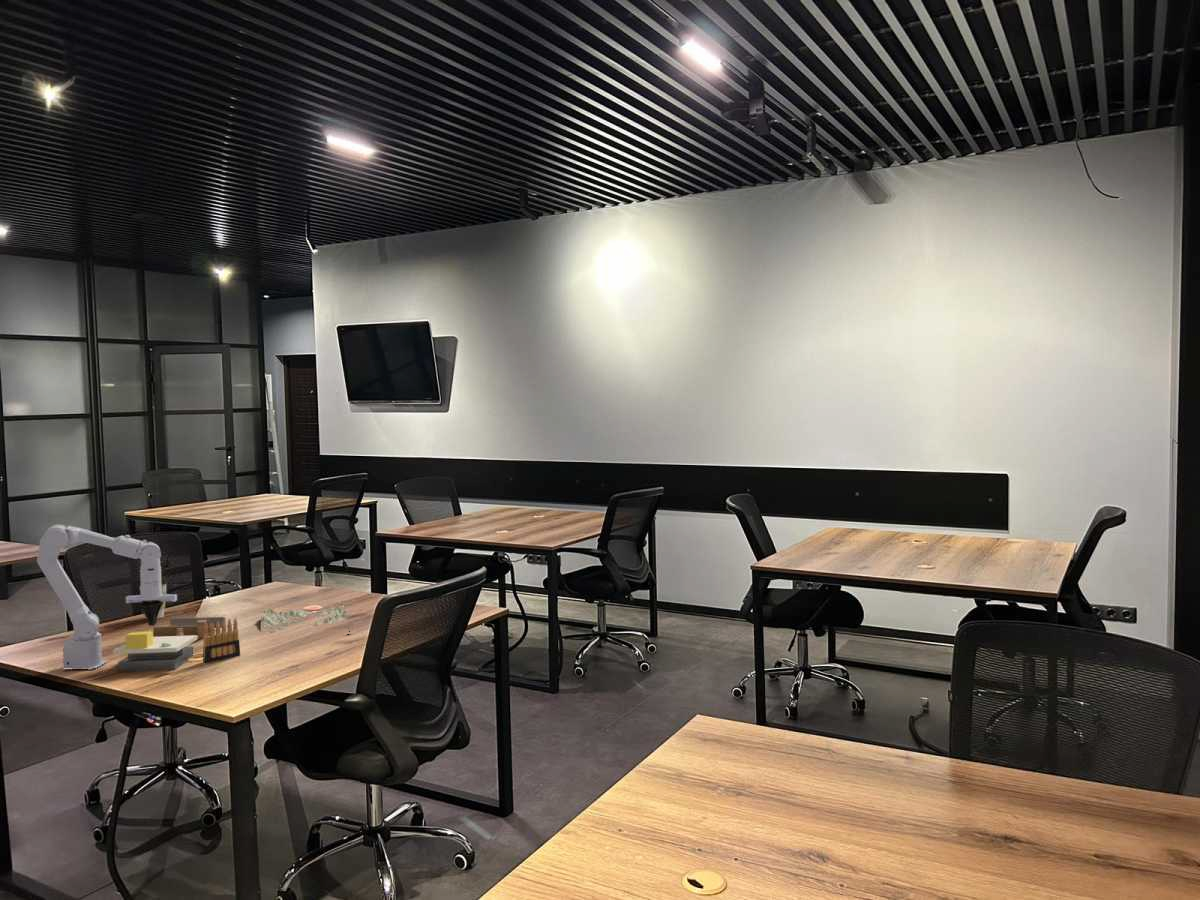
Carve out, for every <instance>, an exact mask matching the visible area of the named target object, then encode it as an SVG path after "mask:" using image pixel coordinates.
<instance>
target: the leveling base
mask: <svg viewBox="0 0 1200 900" xmlns="http://www.w3.org/2000/svg"><path fill="white" fill-rule="evenodd" d="M192 656H193V657H194V646H185V647H184V648H182V649H180V650H179V651H177V652H158V653H131V654H127V656H125V657H124V658H122V659H121V660H119V661H118V663H117V665H118V672H119V671H129V672H150V671H151V672H152V671H154V672H155V671H175V670H177V669H178V668H179V667H181V666H182V665H183V663H184V664H185V663H186V662H188V661H189V660H190V659H191V658H190V657H192ZM193 657H192V658H193ZM189 658H190V659H189ZM188 659H189V660H188ZM187 660H188V661H187Z"/></svg>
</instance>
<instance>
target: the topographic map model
mask: <svg viewBox="0 0 1200 900" xmlns="http://www.w3.org/2000/svg"><path fill="white" fill-rule="evenodd" d="M321 611H322V613H319V612H318V613H319V614H318V616H321V615H326V614H329V615H327V616H329V617H327V618H326V619H325V620H324V621H323V623H328V624H331V623H332V622H335V621H336V622H339V621H342V620H347V621H348V615H347V612H346V611H347V610H346V608H345V601H344V602H342V603H341V604H340V605H338V607H333V606H331V607H330V608H326V609H325V608H324V609H321ZM323 611H324V612H323ZM260 613H261V614H260V615H261V618H260V630H261V629H262V628H263V627H265V626H271V625H277V624H278V623H284V624H283V626H288V625H291V624H289V623H291V622H288V621H297V620H290V619H287V618H285V617H294V618H295V617H296V618H299V617H305V616H307V615H306V614H312V613H314V612H313V611H306V610H304V609H303V610H298V609H295V608H294V609H292V610H289V611H286V612H285V611H284V612H283V611H280V613H279V612H277V611H276V610H273V609H265V610H262V611H261V612H260ZM339 613H342V614H341V615H340V614H339ZM330 614H331V615H336V614H339V615H336V616H335V618H331V617H330ZM315 617H316V616H315ZM323 617H326V616H323ZM319 618H321V617H319ZM320 624H322V622H315V624H314V625H313V626H319V625H320ZM278 630H284V628H279V629H278ZM278 630H273V631H272V630H270V631H269V632H268V633H275V632H278Z"/></svg>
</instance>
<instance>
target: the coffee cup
mask: <svg viewBox="0 0 1200 900" xmlns="http://www.w3.org/2000/svg"><path fill="white" fill-rule="evenodd" d="M168 583H169V582H168V580H167V578H166V577H165V576H161V586H162V594H167V584H168ZM137 585H138V587H139V591H140V592H139V595H141V579H140V580H139V582H138V583H137ZM165 608H166V601H165V602H163V604H162V606H161V608H160V611H159V613H158V616H157V619H158V618H162V617H163V618H164V616H165V615H164V614H165ZM143 616H144V619H145V618H146V616H145V614H144V613H143ZM163 618H162V619H163ZM158 620H159V619H158Z"/></svg>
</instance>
